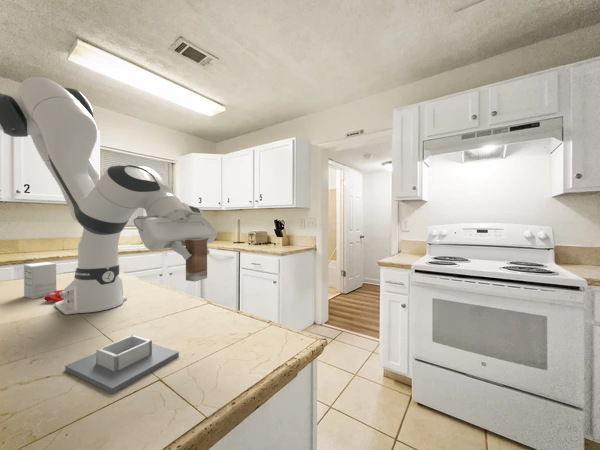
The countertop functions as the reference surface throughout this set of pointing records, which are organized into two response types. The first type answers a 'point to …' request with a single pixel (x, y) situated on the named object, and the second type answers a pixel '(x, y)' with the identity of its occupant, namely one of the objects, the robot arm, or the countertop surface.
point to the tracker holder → (54, 296)
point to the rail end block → (196, 260)
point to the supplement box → (39, 279)
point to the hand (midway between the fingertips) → (198, 256)
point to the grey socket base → (121, 363)
